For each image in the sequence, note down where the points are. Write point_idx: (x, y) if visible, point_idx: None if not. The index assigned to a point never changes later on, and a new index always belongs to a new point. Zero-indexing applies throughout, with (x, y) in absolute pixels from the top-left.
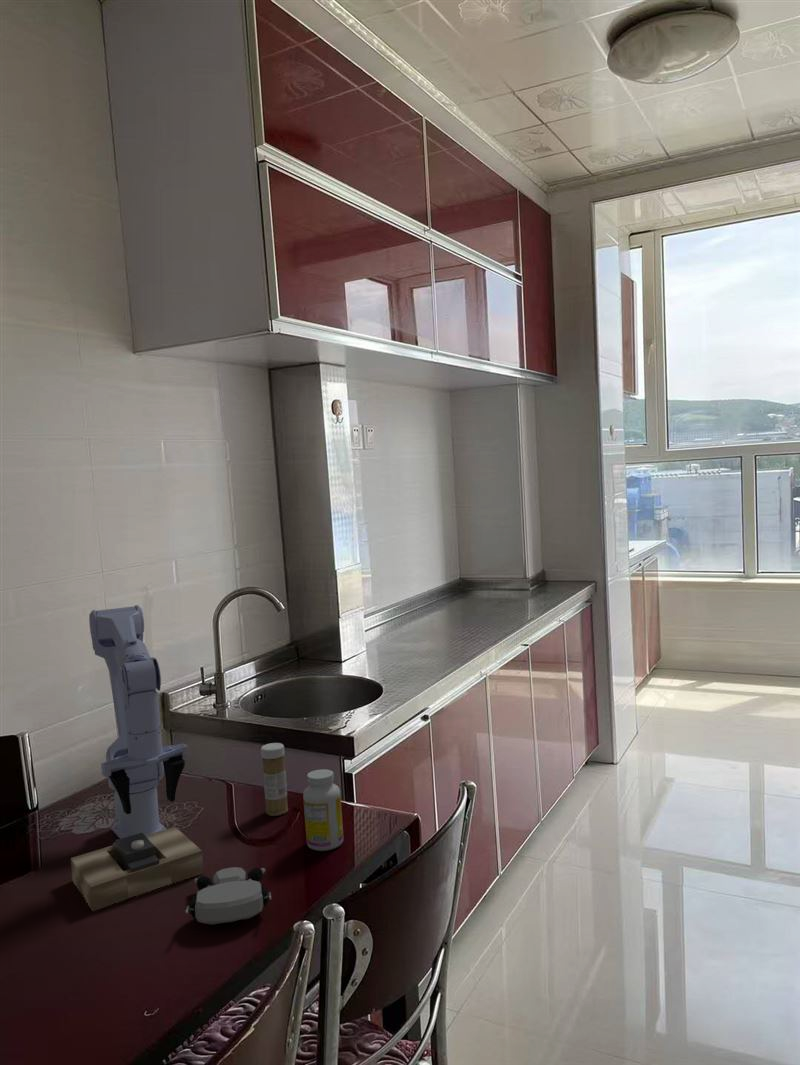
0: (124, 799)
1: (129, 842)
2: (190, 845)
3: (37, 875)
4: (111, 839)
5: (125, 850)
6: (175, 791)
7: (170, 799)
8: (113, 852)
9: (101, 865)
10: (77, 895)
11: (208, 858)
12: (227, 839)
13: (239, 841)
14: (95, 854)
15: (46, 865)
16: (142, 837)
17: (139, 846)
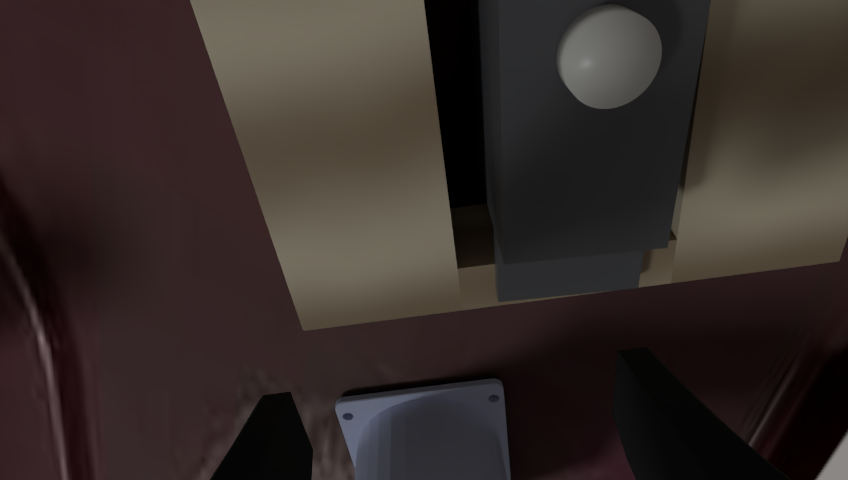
0: (744, 446)
1: (617, 166)
2: (233, 37)
3: (836, 313)
4: (528, 433)
5: (690, 49)
6: (226, 458)
7: (289, 413)
8: None
9: (781, 78)
10: None
11: (172, 71)
12: (76, 223)
13: (8, 172)
14: (734, 236)
15: (775, 365)
16: (524, 194)
17: (611, 7)
